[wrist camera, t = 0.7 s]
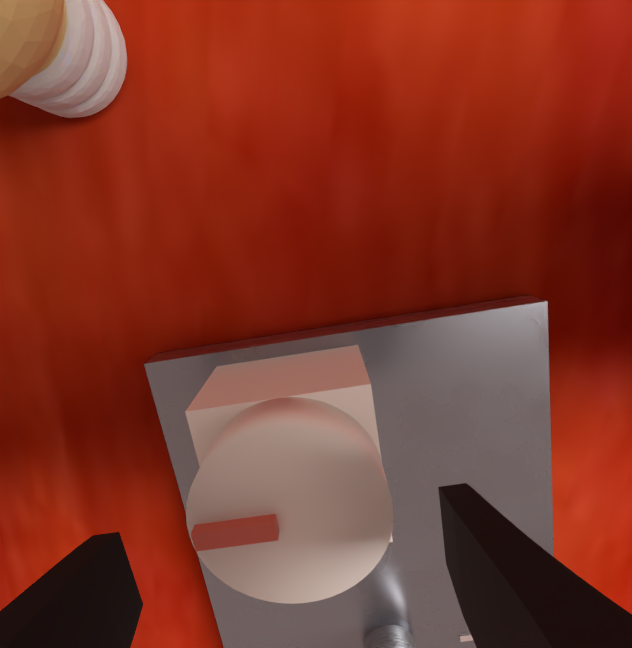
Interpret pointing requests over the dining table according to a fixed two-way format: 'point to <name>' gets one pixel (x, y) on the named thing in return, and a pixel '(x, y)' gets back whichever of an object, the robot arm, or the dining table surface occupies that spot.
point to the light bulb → (61, 55)
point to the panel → (401, 461)
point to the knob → (289, 476)
